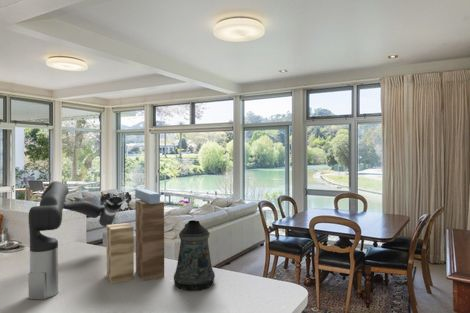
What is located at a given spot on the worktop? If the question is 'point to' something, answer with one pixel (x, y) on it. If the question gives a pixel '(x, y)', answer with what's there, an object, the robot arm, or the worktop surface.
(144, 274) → the walnut stand
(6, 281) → the worktop surface
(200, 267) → the beer stein
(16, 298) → the worktop surface
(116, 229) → the oak tower
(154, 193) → the bar
